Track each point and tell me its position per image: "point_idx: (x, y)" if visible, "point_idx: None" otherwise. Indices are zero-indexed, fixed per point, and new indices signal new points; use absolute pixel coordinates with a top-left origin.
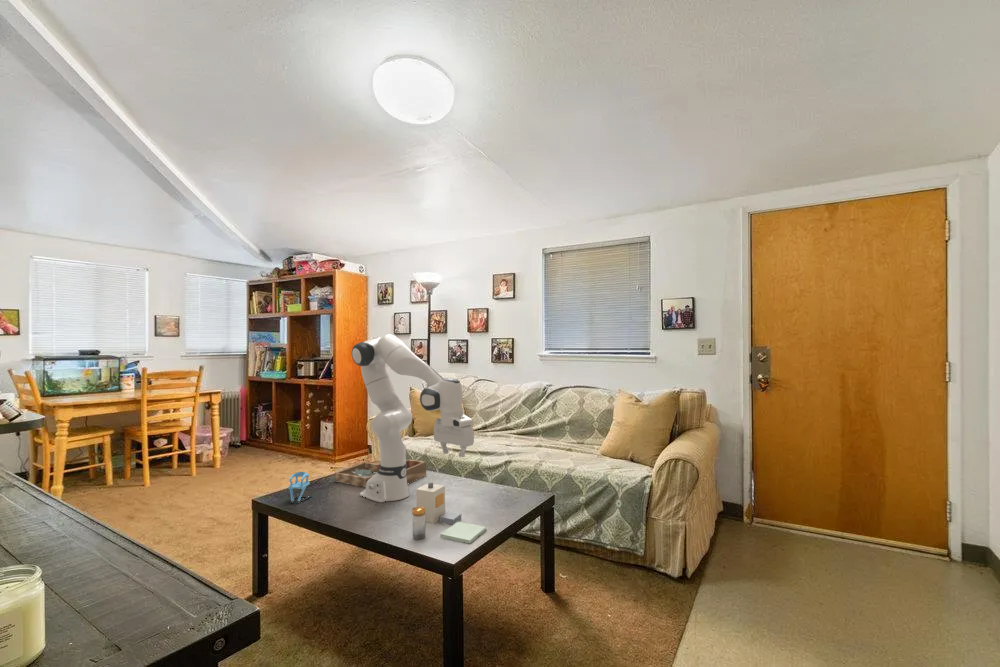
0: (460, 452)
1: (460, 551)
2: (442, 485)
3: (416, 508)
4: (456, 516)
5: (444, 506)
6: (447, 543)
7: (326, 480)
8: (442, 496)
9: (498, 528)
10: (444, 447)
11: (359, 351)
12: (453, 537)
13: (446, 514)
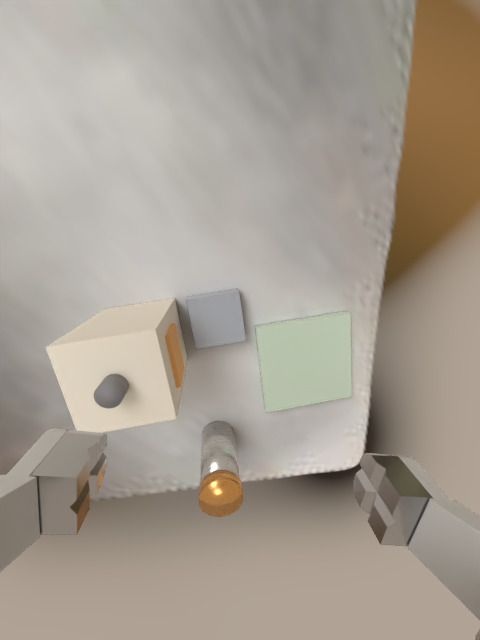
0: (414, 548)
1: (347, 427)
2: (141, 333)
3: (211, 501)
4: (239, 317)
5: (171, 309)
6: (299, 418)
7: None
8: (173, 341)
9: (370, 280)
10: (8, 542)
11: None
12: (305, 404)
13: (200, 323)
